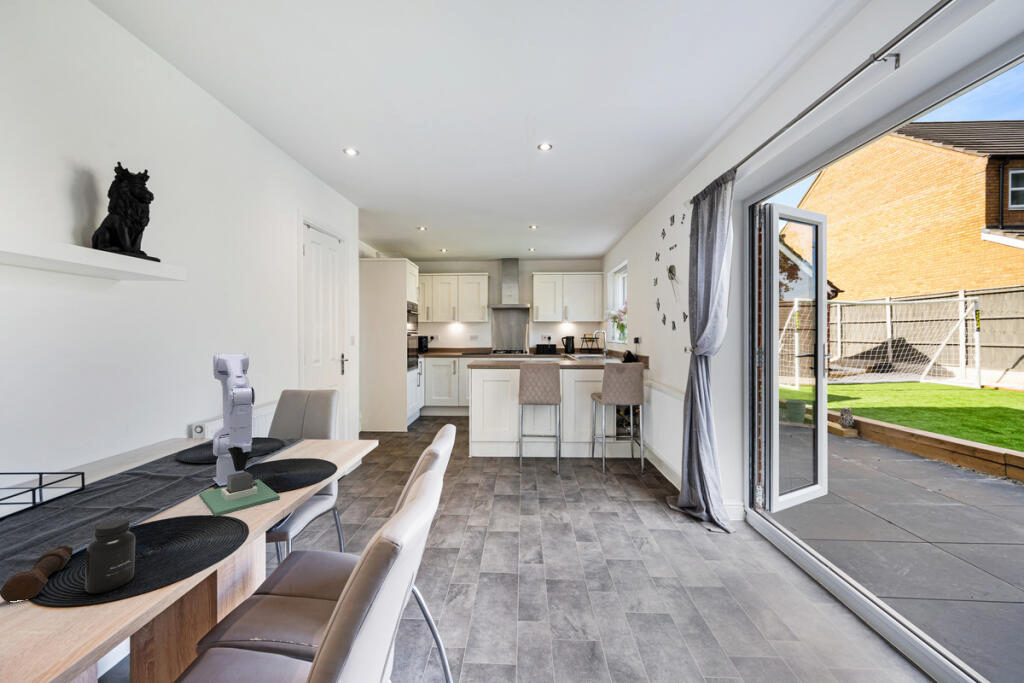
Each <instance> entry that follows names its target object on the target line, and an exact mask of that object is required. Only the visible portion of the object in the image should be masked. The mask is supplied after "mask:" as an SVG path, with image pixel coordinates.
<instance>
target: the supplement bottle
mask: <svg viewBox="0 0 1024 683" xmlns="http://www.w3.org/2000/svg"><path fill="white" fill-rule="evenodd" d="M93 538H94V539H93V540H92V541H90V543H89V544H88V545H87V547H86V549H85V550H86V552H85V572H84V577H85V578H84V589H85V592H87V593H89V594H102V593H107V592H110V591H113V590H116V589H118V588H120V587H123V586H124V585H126V584H128V583H129V582H130V581H132V579H133V577H134V575H135V574H134V573H135V558H136V556H135V555H136V535H135V534H134V533H133V532H131V531H130V520H129V519H127V518H119V519H118V518H117V519H112V520H108V521H103V523H99V524H98V525H96V526H95V527H94V534H93Z"/></svg>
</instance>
